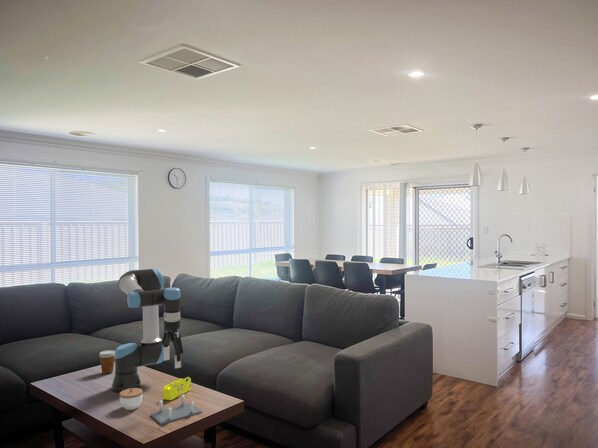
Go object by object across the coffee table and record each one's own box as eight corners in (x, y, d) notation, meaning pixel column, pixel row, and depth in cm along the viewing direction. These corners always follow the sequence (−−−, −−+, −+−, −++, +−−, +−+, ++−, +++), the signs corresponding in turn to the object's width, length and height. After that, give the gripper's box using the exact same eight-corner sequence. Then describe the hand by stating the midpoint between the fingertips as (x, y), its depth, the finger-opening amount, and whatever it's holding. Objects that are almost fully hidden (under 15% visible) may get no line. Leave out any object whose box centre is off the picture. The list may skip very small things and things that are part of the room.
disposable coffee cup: (95, 373, 271) (95, 354, 271) (105, 368, 280) (104, 349, 280) (110, 374, 269) (110, 354, 269) (119, 369, 279) (118, 350, 279)
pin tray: (150, 415, 212) (150, 402, 212) (190, 404, 224) (190, 392, 224) (161, 425, 202) (161, 411, 202) (202, 413, 214) (201, 400, 214)
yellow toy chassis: (171, 402, 228) (171, 385, 228) (162, 400, 231) (162, 384, 231) (191, 391, 243) (191, 375, 243) (183, 389, 245) (183, 374, 245)
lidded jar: (129, 414, 214) (128, 394, 214) (114, 409, 220) (114, 390, 220) (147, 406, 223) (147, 387, 223) (133, 401, 229) (133, 383, 229)
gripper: (154, 316, 224) (155, 358, 225) (175, 326, 205) (175, 372, 205) (169, 314, 229) (169, 355, 230) (190, 324, 209) (190, 369, 210)
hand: (172, 363), depth 218 cm, fingers open, 13 cm apart
